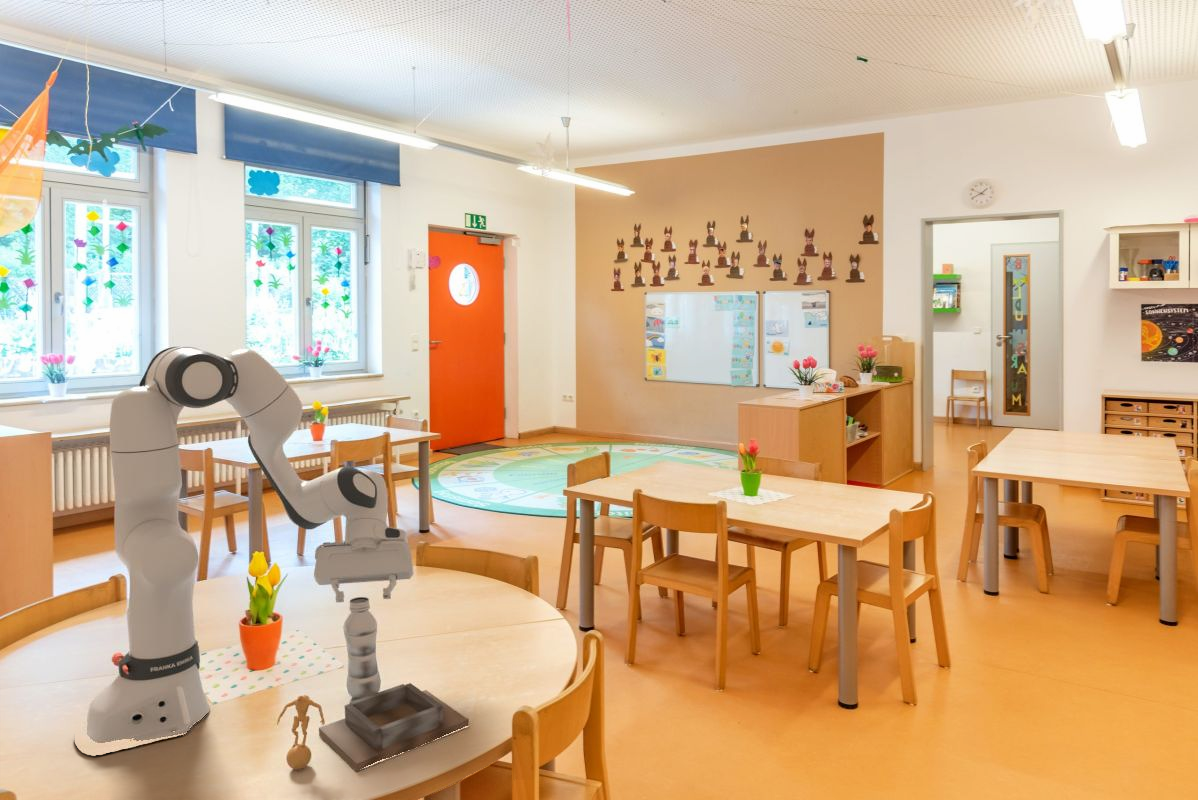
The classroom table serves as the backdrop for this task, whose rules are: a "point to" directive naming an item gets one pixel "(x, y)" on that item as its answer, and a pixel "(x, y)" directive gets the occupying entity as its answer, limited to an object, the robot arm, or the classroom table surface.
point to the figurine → (300, 752)
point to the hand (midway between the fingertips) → (363, 599)
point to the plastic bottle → (361, 650)
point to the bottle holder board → (390, 725)
